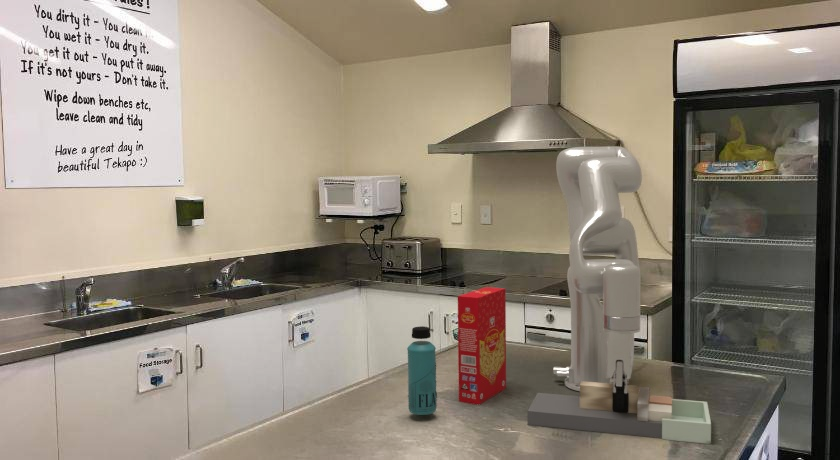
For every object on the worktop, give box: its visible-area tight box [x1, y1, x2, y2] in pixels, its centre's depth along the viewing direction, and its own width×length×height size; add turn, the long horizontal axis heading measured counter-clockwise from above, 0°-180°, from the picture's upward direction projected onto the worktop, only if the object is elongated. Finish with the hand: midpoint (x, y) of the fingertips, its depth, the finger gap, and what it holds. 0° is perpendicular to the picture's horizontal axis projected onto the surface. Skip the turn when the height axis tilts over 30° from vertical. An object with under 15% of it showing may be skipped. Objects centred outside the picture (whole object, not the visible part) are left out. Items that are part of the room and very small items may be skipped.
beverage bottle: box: [406, 325, 438, 416], centre depth 155 cm, size 6×7×20 cm
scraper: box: [579, 381, 651, 422], centre depth 150 cm, size 14×12×5 cm
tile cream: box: [648, 404, 672, 421], centre depth 144 cm, size 4×4×2 cm
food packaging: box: [457, 286, 507, 406], centre depth 170 cm, size 15×5×25 cm, turn 148°
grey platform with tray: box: [526, 392, 712, 445], centre depth 150 cm, size 36×14×4 cm, turn 71°
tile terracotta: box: [649, 394, 673, 406], centre depth 150 cm, size 4×4×2 cm
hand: (621, 408), depth 150 cm, fingers closed on scraper, 3 cm apart
